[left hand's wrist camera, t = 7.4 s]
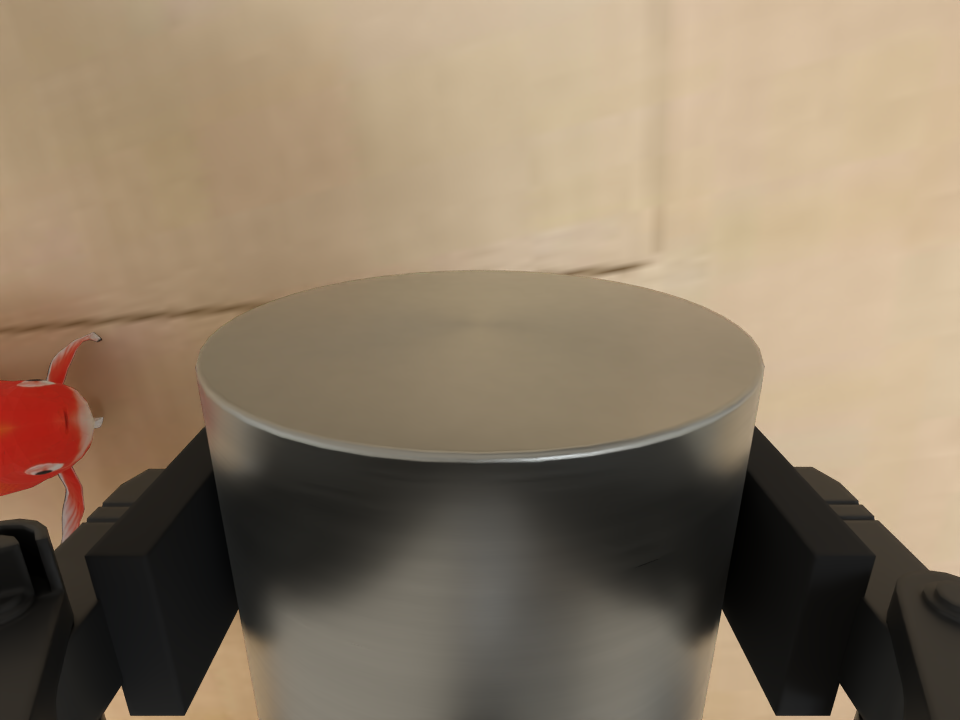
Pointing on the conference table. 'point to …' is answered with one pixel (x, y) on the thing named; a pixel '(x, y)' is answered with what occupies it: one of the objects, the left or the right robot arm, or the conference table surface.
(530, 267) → the conference table surface
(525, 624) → the rod
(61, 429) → the fish
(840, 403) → the conference table surface
